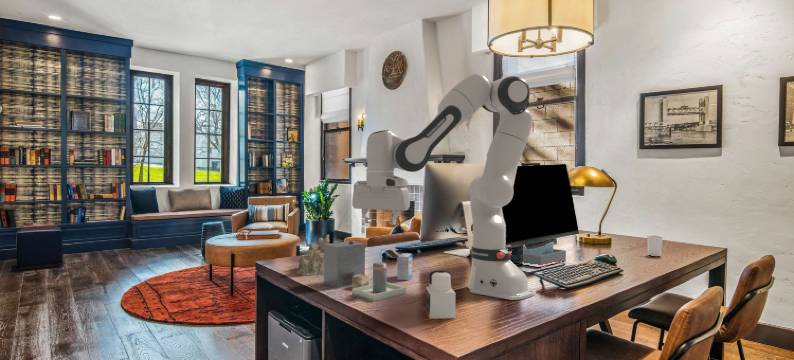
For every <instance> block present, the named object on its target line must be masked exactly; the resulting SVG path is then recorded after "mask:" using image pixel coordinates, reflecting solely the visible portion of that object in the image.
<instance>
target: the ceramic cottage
mask: <svg viewBox="0 0 794 360" xmlns="http://www.w3.org/2000/svg"><path fill="white" fill-rule="evenodd" d="M324 244H331V243H330V234H326V235H325V237H324V238H323V237H319V238H318V242H317V243H312V244H310V245H309V247H308V249H307V250H306V251H305V253H304V254H301V256H300V257H299V259H298V261H297V262H298V270H297V271H296V274H297V275H300V276H304V277H310V276H321V275H322V276H323V275H324Z"/></svg>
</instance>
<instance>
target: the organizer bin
mask: <svg viewBox="0 0 794 360" xmlns="http://www.w3.org/2000/svg"><path fill="white" fill-rule="evenodd" d="M566 255H567V250H563V249H558V248H557V249H556V248H553V253H551V254H547V255H542V256H537V255H530V254H524V253H523V262H524V263H530V264H538V265H543V264H548V263H552V262H561V261H567V258H566V257H567V256H566Z"/></svg>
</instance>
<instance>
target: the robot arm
mask: <svg viewBox="0 0 794 360" xmlns="http://www.w3.org/2000/svg"><path fill="white" fill-rule="evenodd" d="M530 92H531V91H530V86H529V83H528V82H527V80H525V79H524V78H523V77H520V76H517V75H516V76H515V75H510V76H507V77H503V78H500V79H497V80H494V81H489V80H488V78H487V77H486V76H484V75H483V74H481V73H472V74H469V75H468V76H466V77H465V78H464V79H462V80H461V81H460V82H458V83H457V84H456V85H455V86H453V88H451V89H450V90H449V91H448V92H447V93H446V94H445V95H444V97H443V98H442V99H441V101H440V102H439V104H438V107H437V114H436V115H435V117H434V118H433V119H432V120H431V122H429V123H428V125H426V127H424V128H423V130H421V132H419V133H418V134H417V135H415V136H413V137H410V138H408V139H407V138H406V139H405V138H402V137H400V136H398V135H396V134H395V133H394V132H393V131H391V130H388V129H386V130H385V129H384V130H378V131H377V130H376V131H375V132H372V133H371V134H370V135H369V136H368V137H367V140H366V151H365V152H366V153H365V154H366V155H365V156H366V157H365V159H366V162H367V165H366V171H365V173H366V174H365V175H366V177H365V178H366V180H357V181H355V183H354V184H353V193H352V200H351V201H352V202H351V203H352V206H351V207H353V209H355V210H356V209H359V210H361V213H362V216H363V217H364V223H365V224H371V223H372V216H371V217H370V215H369V211H370V210H377V211H378V210H381V211H392V212H391V213H392V214H393V216H392V217H391V218H389V225H391V226H392V225H393V226H394V225H397V219H398V216H399V215H400V212H402V211H408V210H409V209H410V208H411V207H410V206H411V197H410V196H411V195H410V191H409V188H408V187H407V186H408V185H409V184H408V183H409V182H408V180H407V178H402V177H400V176H397V175H394V171H395V169H397V170H398V169H399V170H402V171H406V172H412V173H414V172H415V173H416V172H418V171H420V170H422V169H424V167H426V165H427V164H428V162H429V159H430V156H431V154H432V152H433V150H434V149H435V147H437V146H438V145H439V143H441V141H442V140H444V138H446V137H447V136H448V134H449V133H450V132H452V131H453V130H455V129H456V128H458V127H460V126H461V125H462V124H463V123H465V122H467V120H469V119H470V118H471V117H472V116H474V114H476V112H477V111H478V110H479V109H480V108H483V109H484V110H486V112H489V113H495V114H497V113H498V114H499V123H498V126H497V127H496V130H495V132H494V136H493V137H492V140H491V142H490V146H489V147H488V151H487V153H486V162H485V165H484V170H483V173H482V174H481V175H478V176H476V177H475V178H473V179H472V181H471V182H470V184H469V186H468V193H469V198H470V199H469V202H470V210H471V219H472V220H471V221H472V246H471V248H470V249H471V250H470V251H471V254H470V255H471V270H470V277H469V280H468V283H467V286H466V287H467V289H469V293H470V294H471V293H472V294H476V295H482V296H487V297H494V298H498V299H505V300H510V301H517V300H518V301H519V300H523V299H524V300H525V299H527V298H531V297H533V296H534V295H535V294H536V292H535V289H532V288H529V286H528V278H527V276H526V273H525V272H523V270H522V269H520V268H519V267H518V266H517V264H514V263H513V262H512V261H511V255H512V254H511V253H512V251H508V249H507V247H506V243H507V242H506V239H507V238H506V237H507V234H506V233H507V228H506V227H507V225H506V221H505V218H504V213H503V207H505V206H507V205H508V204H509V203H510V202H511V201H512V199H513V197H514V194H515V193H514V190H515V189H514V185H515V180H516V175H517V170H518V166H519V163H520V161H521V158H522V156H523V153H524V151H525V148H526V145H527V142H528V140H529V137H530V133H531V130H532V126H533V114H532V113H531V111H529V110H528V108H529V106H530V101H529V100H530V97H531V96H530V94H531V93H530Z"/></svg>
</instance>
